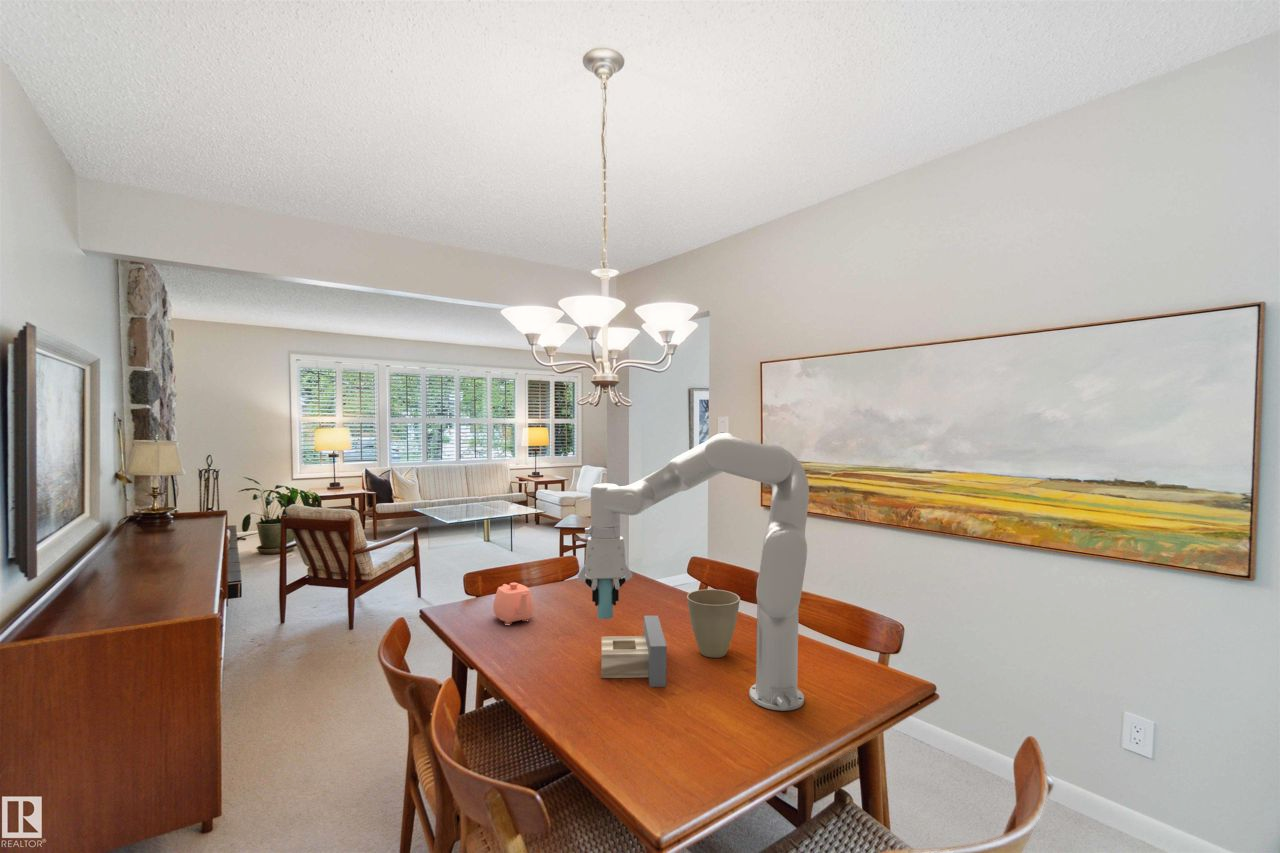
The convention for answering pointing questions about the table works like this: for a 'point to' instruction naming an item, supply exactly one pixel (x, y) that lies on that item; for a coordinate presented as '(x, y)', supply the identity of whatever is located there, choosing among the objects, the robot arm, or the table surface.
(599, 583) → the dowel
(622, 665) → the socket block
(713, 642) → the plant pot
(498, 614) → the teapot
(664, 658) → the rail
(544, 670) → the table surface
